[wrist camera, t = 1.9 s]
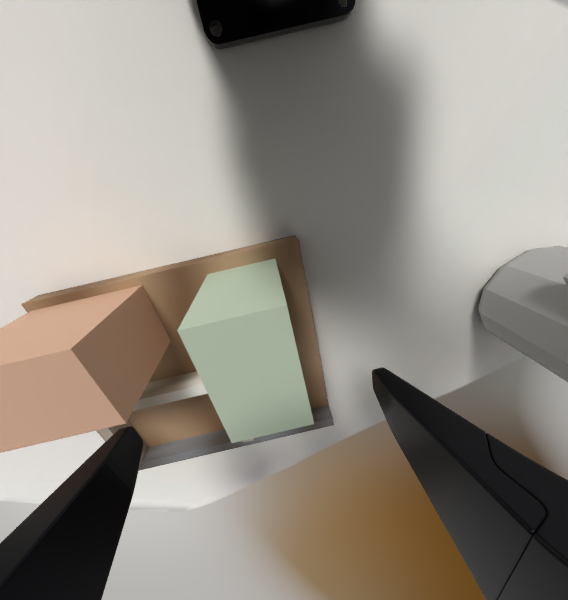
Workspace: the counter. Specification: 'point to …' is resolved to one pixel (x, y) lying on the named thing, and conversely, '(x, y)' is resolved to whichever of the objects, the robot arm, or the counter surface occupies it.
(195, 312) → the tea box
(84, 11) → the counter surface
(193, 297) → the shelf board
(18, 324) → the rust box
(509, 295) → the water bottle
